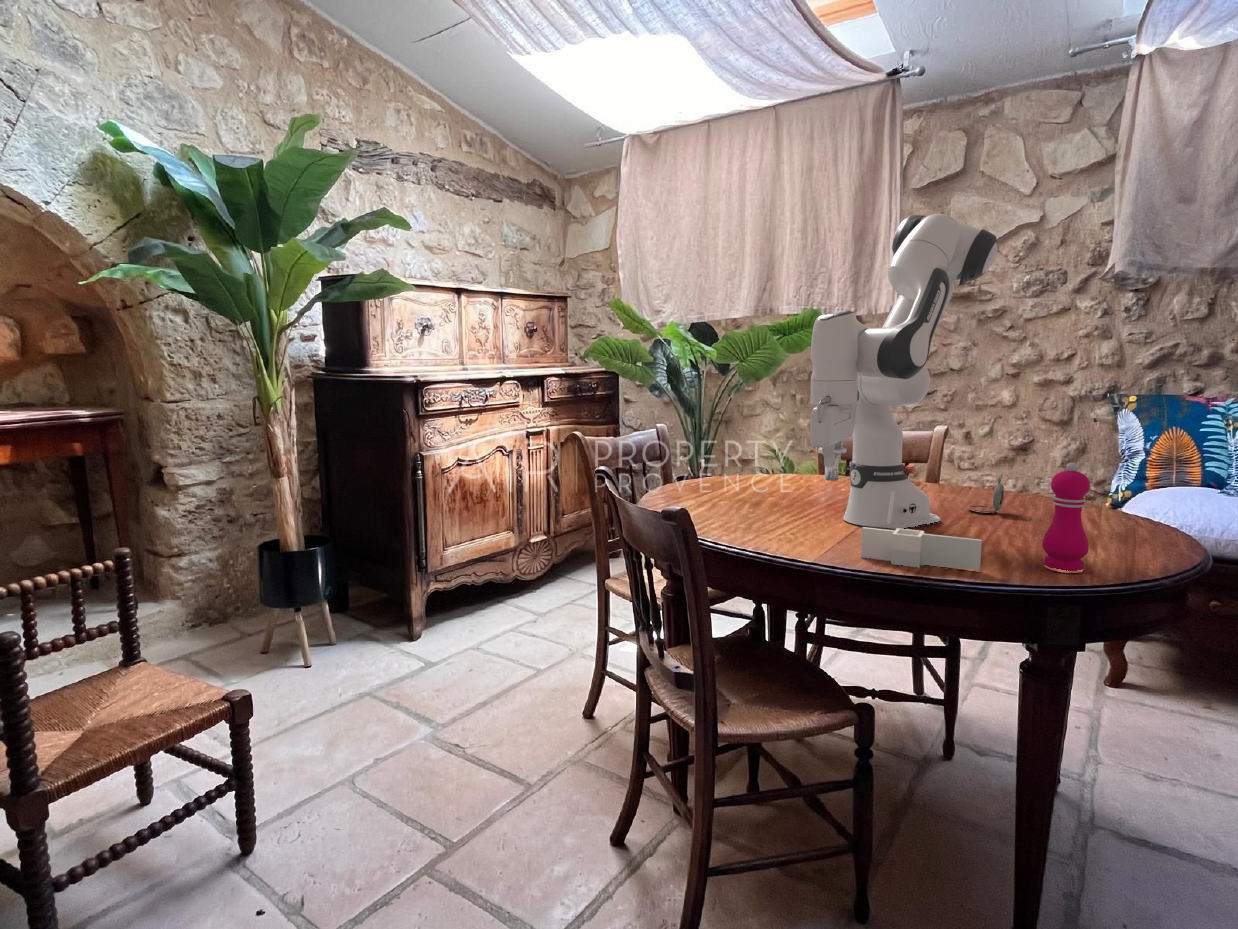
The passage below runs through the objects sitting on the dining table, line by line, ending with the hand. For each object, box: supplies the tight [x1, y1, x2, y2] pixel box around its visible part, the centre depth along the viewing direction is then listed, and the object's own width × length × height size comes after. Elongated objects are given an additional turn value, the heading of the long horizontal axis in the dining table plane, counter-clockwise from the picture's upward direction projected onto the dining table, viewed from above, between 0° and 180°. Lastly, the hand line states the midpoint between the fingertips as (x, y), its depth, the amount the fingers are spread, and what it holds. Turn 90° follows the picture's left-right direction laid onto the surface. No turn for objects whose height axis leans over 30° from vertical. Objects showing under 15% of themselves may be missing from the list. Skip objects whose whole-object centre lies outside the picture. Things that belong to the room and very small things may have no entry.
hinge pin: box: [817, 447, 847, 482], centre depth 139 cm, size 5×5×6 cm
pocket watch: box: [967, 474, 1005, 512], centre depth 175 cm, size 8×8×10 cm
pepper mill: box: [1041, 462, 1091, 571], centre depth 128 cm, size 7×7×20 cm
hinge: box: [860, 526, 983, 571], centre depth 133 cm, size 21×5×6 cm, turn 59°
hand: (832, 464), depth 139 cm, fingers closed on hinge pin, 3 cm apart
